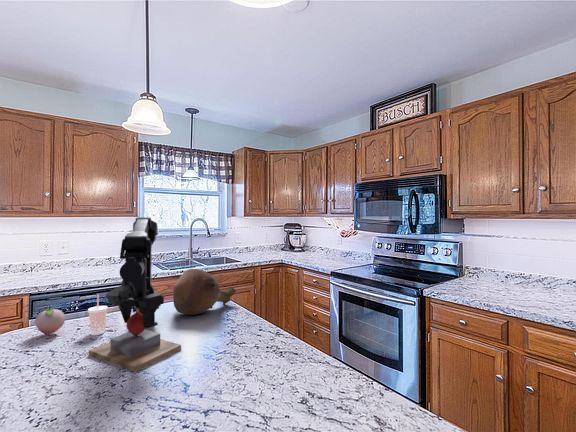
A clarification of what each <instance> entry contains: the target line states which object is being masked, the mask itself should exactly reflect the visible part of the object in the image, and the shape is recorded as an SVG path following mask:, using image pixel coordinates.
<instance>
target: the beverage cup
mask: <svg viewBox="0 0 576 432" xmlns="http://www.w3.org/2000/svg"><path fill="white" fill-rule="evenodd" d="M96 297H97V298H96V302H97V303H96V305H95V306H93V307H89V308H88V309H87V312H88V319H89V320H88V322H89V333H90V335H91V336H97V335H98V336H99V335H102V334H104V333H106V324H107V311H108V306H107V305H99V304H100V303H99V302H100V300H99V299H100V295H99V294H98V293H97V295H96Z"/></svg>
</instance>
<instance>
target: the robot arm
mask: <svg viewBox="0 0 576 432" xmlns="http://www.w3.org/2000/svg"><path fill="white" fill-rule="evenodd" d="M158 228H159V227H158V223H157V222H155V221H153V220H152V217H147V216H146V217H145V216H142V217H141V216H139V217H136V218H135V221H134V222H133V224H132V232H128V233H126V235H125V236H124V238H123V239H122V241H121V248H120V252H119V253H120V255H119V260H125V262H124V264H122V265H121V267H120V268H119V275H120V278H121V279H122V281H121V285H119V286H117V287H115V288H114V289H111V290H110V291H108V292H106V294H105V296H106V299H107V301H108V303H109V305H114V306H117V307H118V309H119V311H120V313H121V317H122V318H123V322H124V324H127V321H128V320H129V318H130V317H131V316H132V313H136V310H139V312H140V313H142V314H143V325H144V328H145V329H148V328H150V327H151V328H152V327H153V326H155V325H158V324H159V323H158V322H157V321H156V317H155V316H156V314H155V313H156V311H157V310H158V309H160V307H161V305H163V304H164V302H165V301H164V296H163V294H159V293H156V288H155V287H154V285H153V284H152V251H153V250H152V248H153V247H152V246H153V244H154V243H155V242H156V240H157V236H158V235H159V233H158V231H159V230H158Z"/></svg>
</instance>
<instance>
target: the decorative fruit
mask: <svg viewBox="0 0 576 432" xmlns="http://www.w3.org/2000/svg"><path fill="white" fill-rule="evenodd" d="M34 321H35V322H34V323H35V327H36V329H37V330H38V331H39V332H40V333H42V334H44V335H46V336H51V335H53V333H55V332H57V331H59V329H60V330H61V328H62V327H63V326H64V324H65V321H66V315H65V313H64V312H63V311H62V310H59V309H55V308H52V307H51V306H49V308H46V309H45V310H43V311H41V312H40V313H39V314H37V316H36V318H35V320H34Z"/></svg>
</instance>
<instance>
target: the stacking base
mask: <svg viewBox="0 0 576 432" xmlns="http://www.w3.org/2000/svg"><path fill="white" fill-rule="evenodd" d="M181 350H182V344H180V343H177V342H176V343H175V342H173V341H172V342H171V341H169V340H165V339H161V333H159V332H156V331H152V330H147V329H145V330H144V331H143V332H142V333H140V334H139V335H137V336H134V335H133V334H132V333H130V332H129V331H128V332H126V333H123V334H120V335H118V336H114V337H112V338H110V341H109V342H108V343H105V344H102V345H101V344H100V345H99V346H97V347H93V348H91V349H89V350H88V356H90V357H93V358H96V359H97V360H98V359H99V360H101V361H104V362H106V363H108V364H109V363H110V364H111V365H115V366H118V367H120V368H122V369H125V370H129V371H131V372H134V373H137V372H139V371H141V370H142V369H145V368H147V367H149V366H151V365H154V364H155V363H157V362H159V361H160V360H163V359H165V358H167V357H169V356H170V355H173V354H176V353H177V352H179V351H181Z"/></svg>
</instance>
